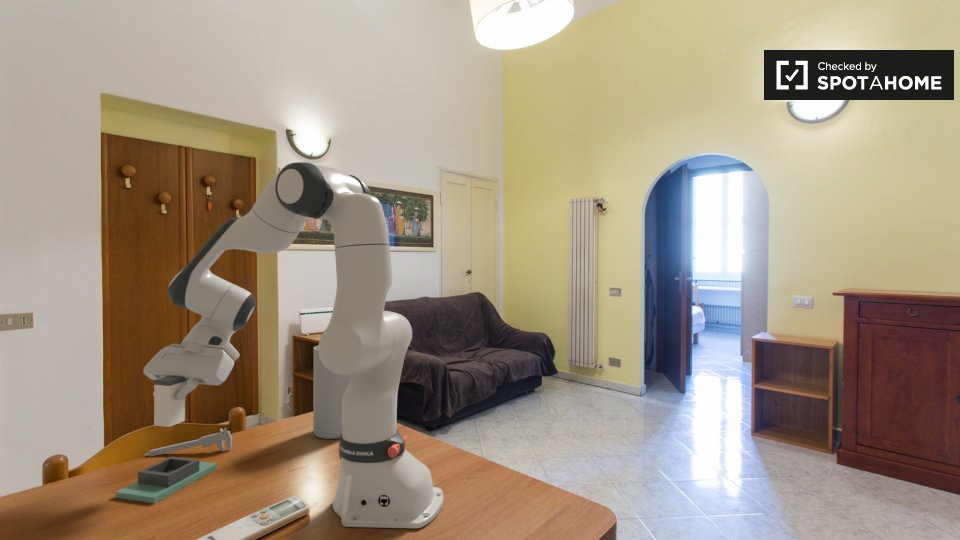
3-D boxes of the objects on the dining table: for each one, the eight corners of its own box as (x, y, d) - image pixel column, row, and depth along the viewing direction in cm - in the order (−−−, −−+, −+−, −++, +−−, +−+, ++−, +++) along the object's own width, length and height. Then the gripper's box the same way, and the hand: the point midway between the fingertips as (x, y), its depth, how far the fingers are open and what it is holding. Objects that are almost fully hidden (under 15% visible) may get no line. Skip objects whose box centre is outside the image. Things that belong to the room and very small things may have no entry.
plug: (184, 420, 102) (185, 376, 101) (169, 426, 98) (169, 381, 98) (170, 419, 102) (170, 375, 102) (154, 425, 99) (154, 380, 98)
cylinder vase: (314, 426, 135) (314, 343, 135) (357, 422, 139) (357, 342, 138) (311, 442, 123) (312, 351, 123) (358, 437, 127) (359, 349, 126)
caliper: (232, 450, 118) (232, 426, 118) (230, 451, 117) (230, 428, 117) (145, 455, 114) (145, 431, 114) (142, 457, 113) (142, 432, 113)
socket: (216, 468, 107) (216, 453, 107) (154, 503, 91) (154, 485, 91) (182, 464, 109) (182, 449, 109) (115, 497, 93) (115, 479, 93)
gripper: (160, 336, 109) (119, 386, 99) (232, 340, 104) (196, 394, 95) (176, 350, 113) (139, 400, 104) (245, 355, 109) (213, 408, 99)
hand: (167, 397), depth 99 cm, fingers closed on plug, 4 cm apart
